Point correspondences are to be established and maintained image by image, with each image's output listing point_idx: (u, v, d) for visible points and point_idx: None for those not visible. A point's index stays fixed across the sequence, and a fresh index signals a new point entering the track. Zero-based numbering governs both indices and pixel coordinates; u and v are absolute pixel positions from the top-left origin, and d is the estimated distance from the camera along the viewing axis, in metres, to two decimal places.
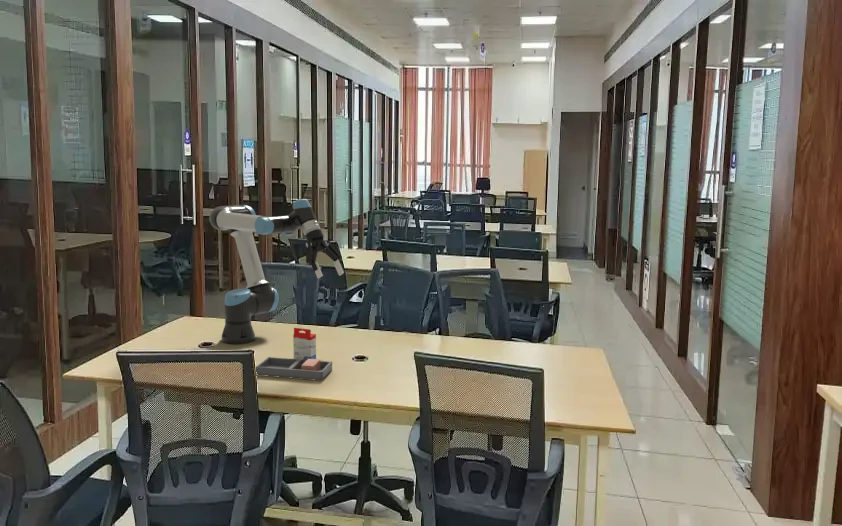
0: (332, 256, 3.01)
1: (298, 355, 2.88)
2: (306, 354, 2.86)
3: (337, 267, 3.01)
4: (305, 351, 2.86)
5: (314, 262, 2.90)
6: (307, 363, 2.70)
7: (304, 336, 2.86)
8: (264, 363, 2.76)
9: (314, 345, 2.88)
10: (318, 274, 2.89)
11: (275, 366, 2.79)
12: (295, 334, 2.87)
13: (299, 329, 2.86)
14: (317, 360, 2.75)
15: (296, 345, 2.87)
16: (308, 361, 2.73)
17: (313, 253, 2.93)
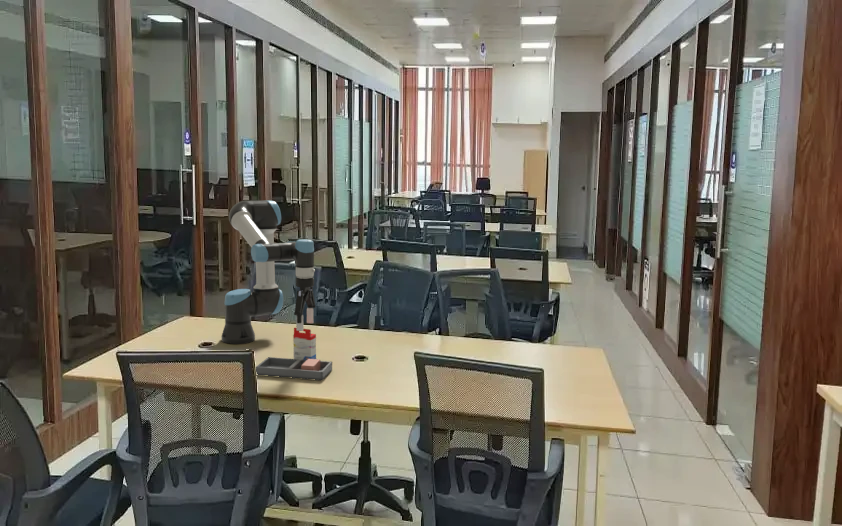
0: (309, 303, 2.91)
1: (298, 355, 2.88)
2: (306, 354, 2.86)
3: (309, 315, 2.93)
4: (305, 351, 2.86)
5: (301, 315, 2.79)
6: (307, 363, 2.70)
7: (304, 336, 2.86)
8: (264, 363, 2.76)
9: (314, 345, 2.88)
10: (299, 327, 2.80)
11: (275, 366, 2.79)
12: (295, 334, 2.87)
13: None
14: (317, 360, 2.75)
15: (296, 345, 2.87)
16: (308, 361, 2.73)
17: (301, 303, 2.80)
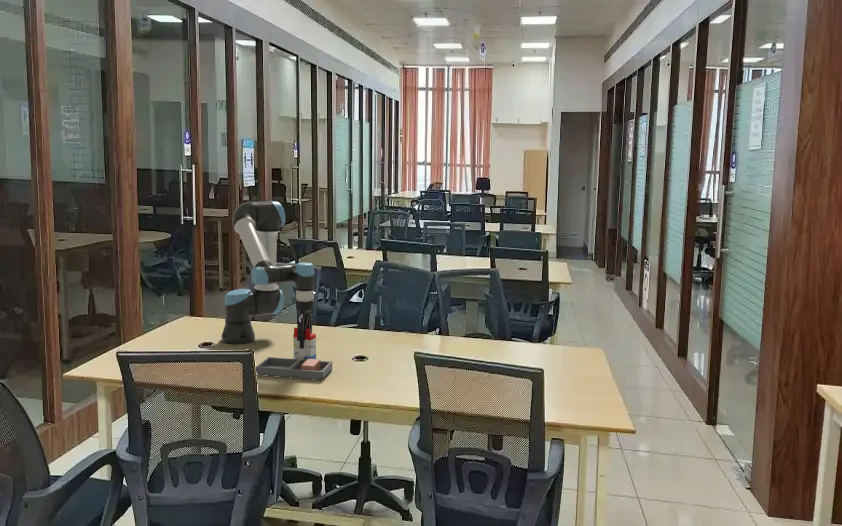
0: None
1: (298, 355, 2.88)
2: (307, 354, 2.86)
3: None
4: None
5: None
6: (307, 363, 2.70)
7: None
8: (264, 363, 2.76)
9: (314, 345, 2.88)
10: (302, 352, 2.86)
11: (275, 366, 2.79)
12: (295, 334, 2.87)
13: None
14: (317, 360, 2.75)
15: (296, 345, 2.87)
16: (308, 361, 2.73)
17: None
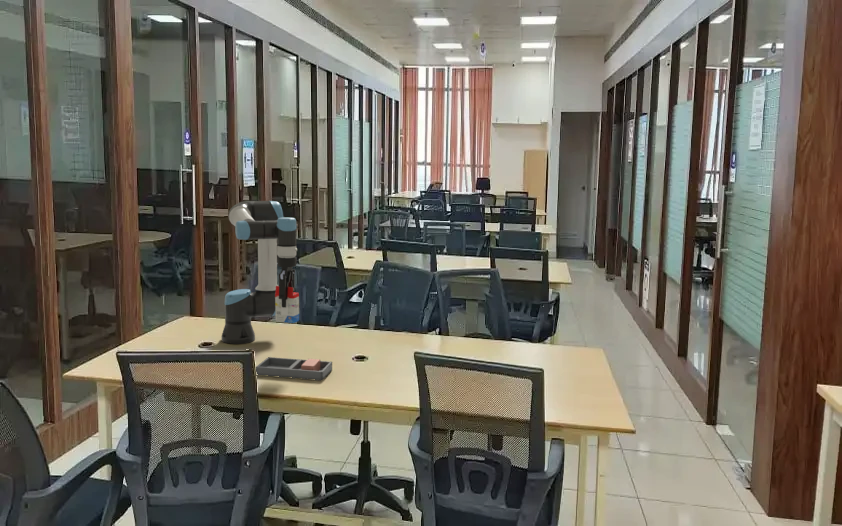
0: None
1: (281, 315, 2.74)
2: (289, 313, 2.73)
3: None
4: None
5: (286, 298, 2.71)
6: (307, 363, 2.70)
7: None
8: (264, 363, 2.76)
9: (297, 304, 2.75)
10: (284, 311, 2.72)
11: (275, 366, 2.79)
12: (277, 293, 2.73)
13: None
14: (317, 360, 2.75)
15: (278, 304, 2.74)
16: (308, 361, 2.73)
17: None
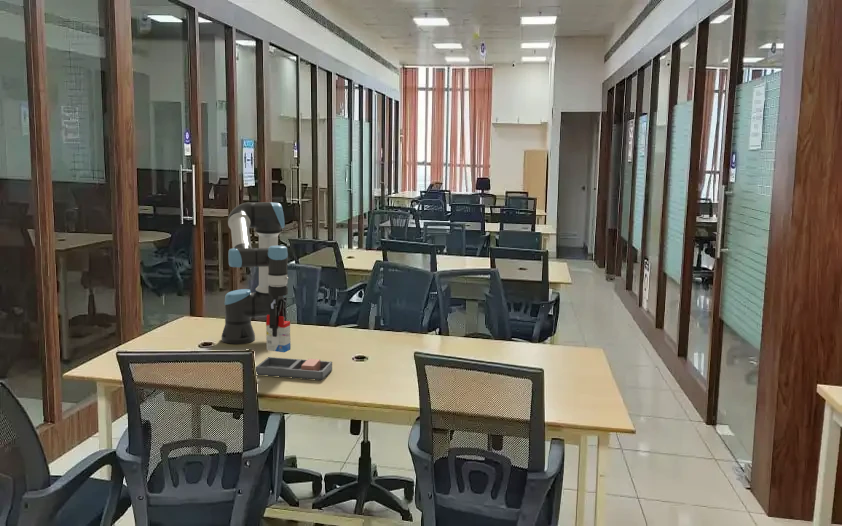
0: None
1: (272, 344, 2.71)
2: (280, 343, 2.70)
3: None
4: None
5: None
6: (307, 363, 2.70)
7: None
8: (264, 363, 2.76)
9: (288, 333, 2.72)
10: (274, 341, 2.69)
11: (275, 366, 2.79)
12: (268, 321, 2.70)
13: None
14: (317, 360, 2.75)
15: (269, 333, 2.71)
16: (308, 361, 2.73)
17: None
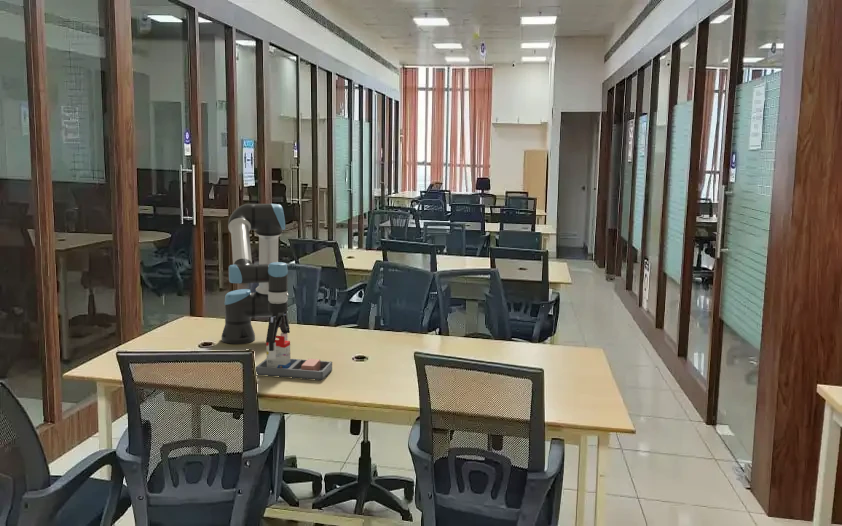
0: (283, 328, 2.78)
1: (272, 363, 2.73)
2: (280, 362, 2.71)
3: None
4: (278, 359, 2.71)
5: (273, 342, 2.66)
6: (307, 363, 2.70)
7: (278, 343, 2.71)
8: (264, 363, 2.76)
9: (288, 353, 2.73)
10: (271, 355, 2.67)
11: None
12: None
13: None
14: (317, 360, 2.75)
15: None
16: (308, 361, 2.73)
17: None
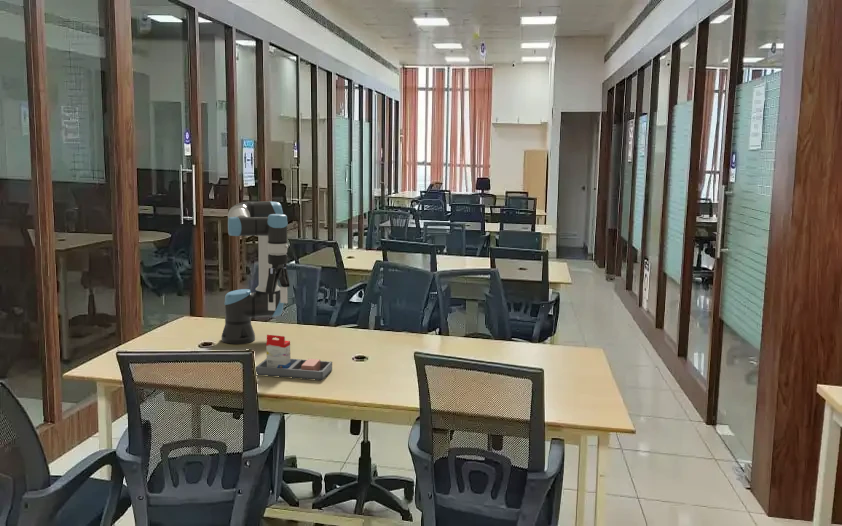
0: (283, 282, 2.75)
1: (272, 363, 2.73)
2: (280, 362, 2.71)
3: (282, 294, 2.77)
4: (278, 359, 2.71)
5: (272, 294, 2.63)
6: (307, 363, 2.70)
7: (278, 343, 2.71)
8: (264, 363, 2.76)
9: (288, 353, 2.73)
10: (271, 307, 2.64)
11: None
12: (268, 341, 2.72)
13: (272, 336, 2.71)
14: (317, 360, 2.75)
15: (269, 352, 2.72)
16: (308, 361, 2.73)
17: (273, 281, 2.64)
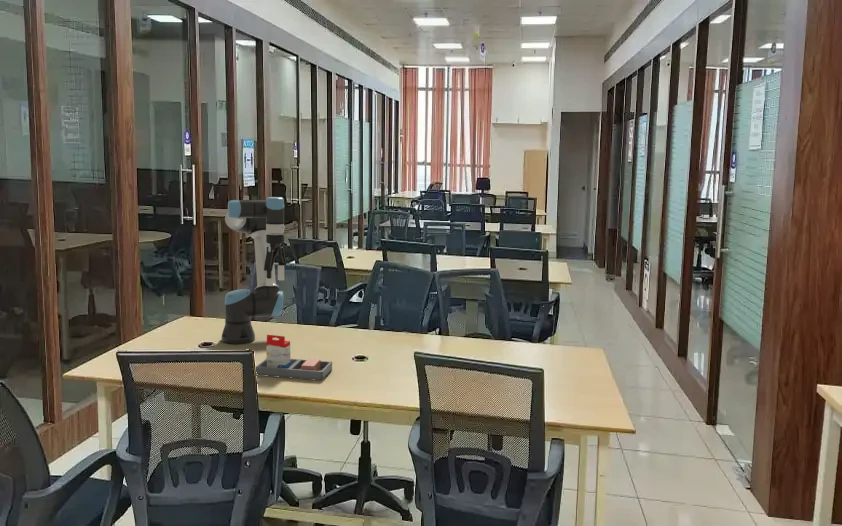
0: (280, 260, 2.97)
1: (272, 363, 2.73)
2: (280, 362, 2.71)
3: (280, 272, 2.99)
4: (278, 359, 2.71)
5: (270, 270, 2.84)
6: (307, 363, 2.70)
7: (278, 343, 2.71)
8: (264, 363, 2.76)
9: (288, 353, 2.73)
10: (269, 283, 2.86)
11: None
12: (268, 341, 2.72)
13: (272, 336, 2.71)
14: (317, 360, 2.75)
15: (269, 352, 2.72)
16: (308, 361, 2.73)
17: None
